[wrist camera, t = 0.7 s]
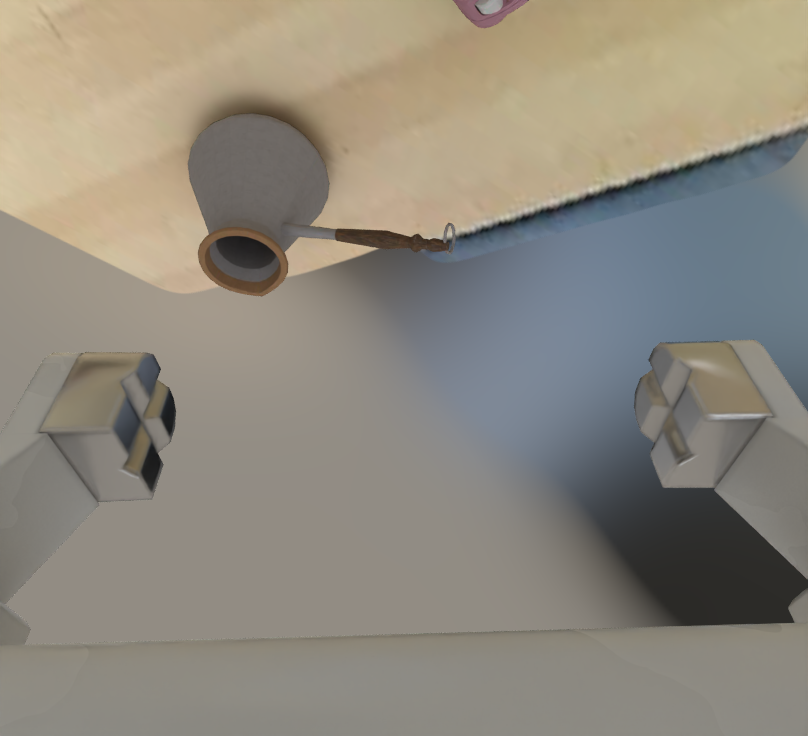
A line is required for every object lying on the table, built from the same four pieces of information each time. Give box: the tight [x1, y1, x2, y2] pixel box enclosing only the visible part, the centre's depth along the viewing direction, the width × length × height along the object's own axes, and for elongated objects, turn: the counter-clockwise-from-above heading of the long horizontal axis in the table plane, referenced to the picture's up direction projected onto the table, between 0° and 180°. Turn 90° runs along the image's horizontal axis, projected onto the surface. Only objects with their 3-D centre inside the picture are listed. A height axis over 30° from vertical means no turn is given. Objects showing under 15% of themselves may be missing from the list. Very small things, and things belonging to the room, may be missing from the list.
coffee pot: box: [188, 113, 455, 296], centre depth 44 cm, size 21×12×15 cm, turn 101°
